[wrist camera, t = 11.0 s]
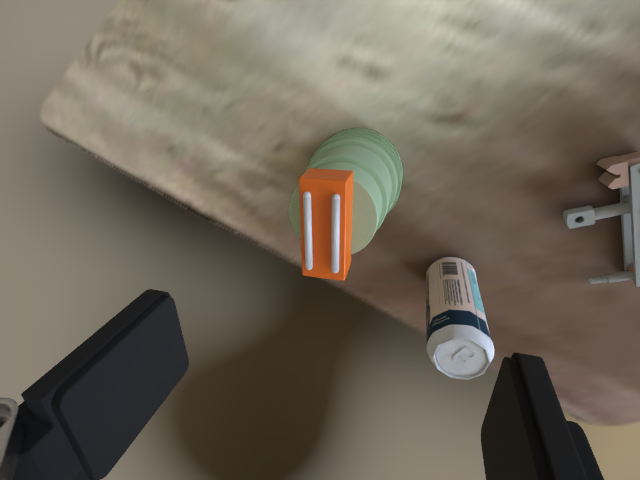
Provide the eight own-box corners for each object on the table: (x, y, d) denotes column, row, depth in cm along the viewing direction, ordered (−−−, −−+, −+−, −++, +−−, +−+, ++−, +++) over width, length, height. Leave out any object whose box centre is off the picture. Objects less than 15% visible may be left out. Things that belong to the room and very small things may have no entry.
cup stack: (313, 126, 33) (269, 152, 24) (407, 129, 31) (399, 158, 22) (315, 211, 37) (277, 262, 28) (398, 218, 35) (389, 276, 26)
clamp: (564, 177, 28) (733, 136, 24) (554, 170, 30) (711, 131, 26) (581, 328, 33) (724, 314, 29) (573, 314, 35) (705, 299, 31)
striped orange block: (309, 167, 24) (295, 180, 21) (353, 170, 23) (345, 183, 20) (311, 259, 27) (299, 279, 24) (351, 263, 26) (343, 285, 24)
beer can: (416, 277, 38) (413, 359, 27) (446, 245, 35) (455, 322, 25) (454, 302, 38) (465, 393, 27) (486, 272, 35) (512, 359, 25)
